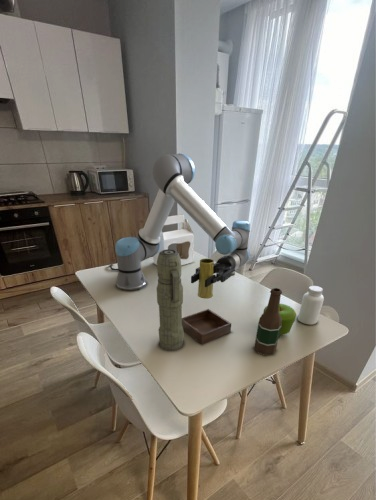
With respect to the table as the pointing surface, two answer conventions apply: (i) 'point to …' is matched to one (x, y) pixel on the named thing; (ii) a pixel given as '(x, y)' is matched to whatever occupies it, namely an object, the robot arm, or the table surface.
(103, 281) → the table surface
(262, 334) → the beer bottle
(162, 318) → the thermos
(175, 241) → the gable box
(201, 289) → the vase
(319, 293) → the pill bottle
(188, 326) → the tray
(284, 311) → the apple
